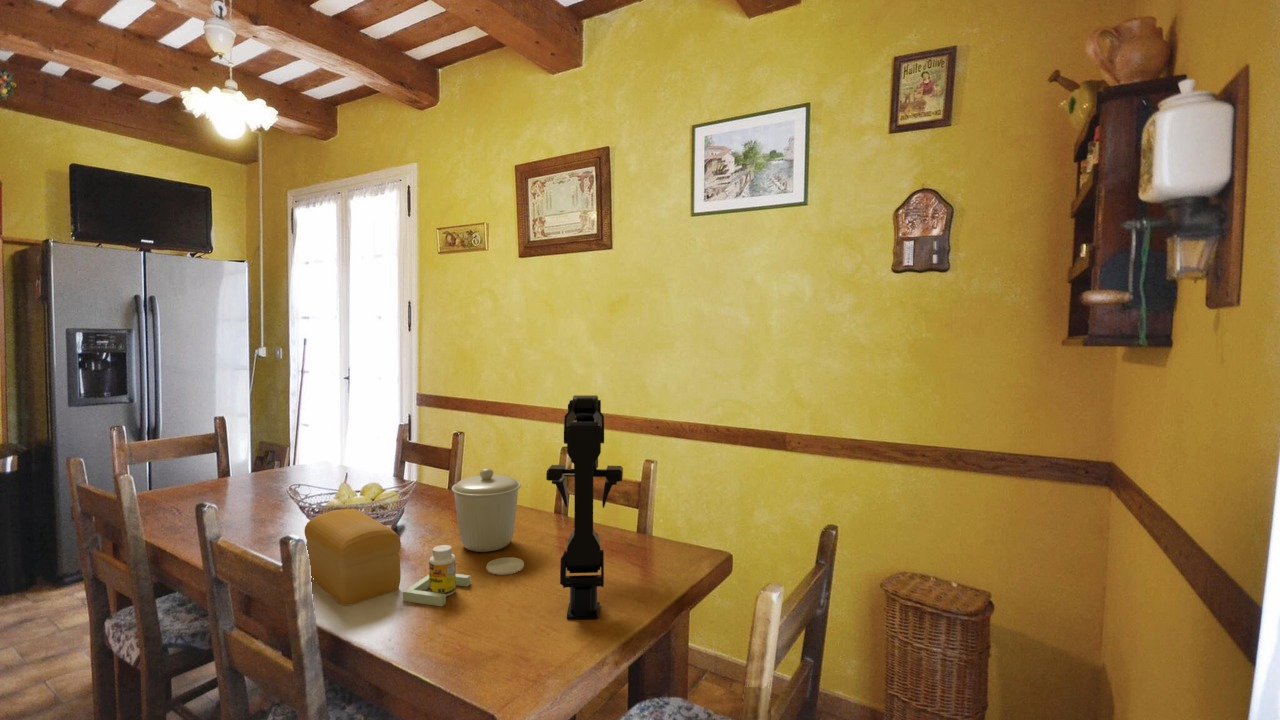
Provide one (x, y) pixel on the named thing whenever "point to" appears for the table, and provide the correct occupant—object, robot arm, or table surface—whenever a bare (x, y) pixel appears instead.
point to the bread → (353, 555)
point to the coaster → (505, 566)
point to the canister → (486, 510)
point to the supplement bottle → (442, 570)
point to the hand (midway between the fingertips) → (585, 507)
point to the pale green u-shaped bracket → (421, 596)
